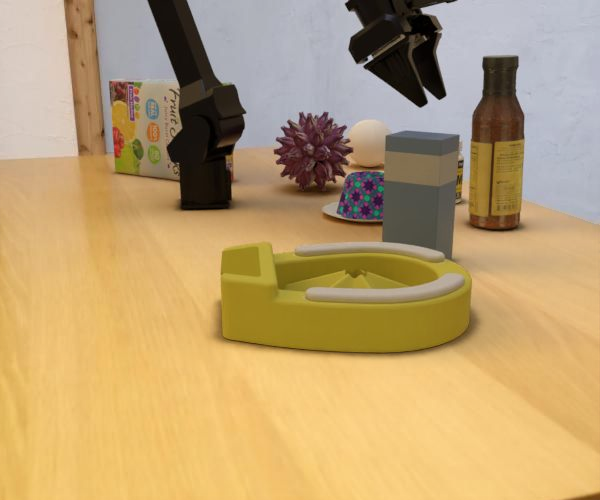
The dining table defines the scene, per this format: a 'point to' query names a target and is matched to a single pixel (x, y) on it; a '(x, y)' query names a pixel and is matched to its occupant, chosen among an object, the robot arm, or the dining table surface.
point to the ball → (368, 142)
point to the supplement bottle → (459, 174)
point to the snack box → (146, 126)
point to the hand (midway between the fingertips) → (434, 101)
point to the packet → (420, 189)
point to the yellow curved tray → (343, 296)
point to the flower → (313, 150)
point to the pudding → (360, 198)
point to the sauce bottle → (497, 148)
